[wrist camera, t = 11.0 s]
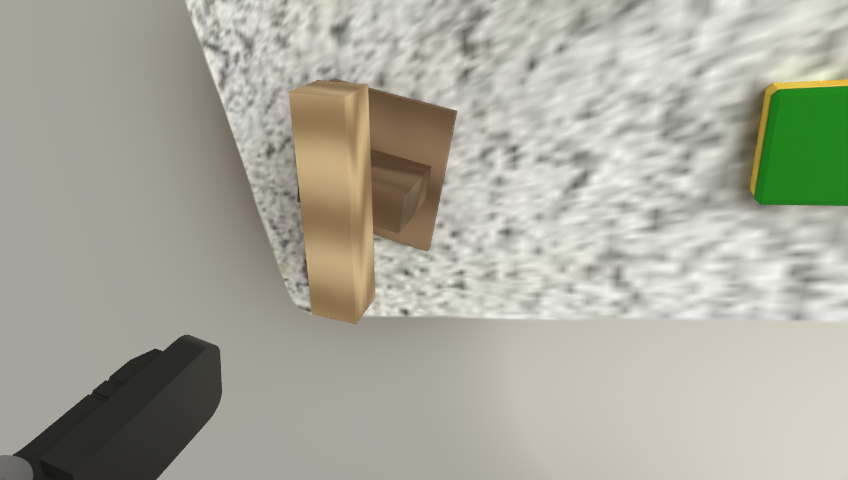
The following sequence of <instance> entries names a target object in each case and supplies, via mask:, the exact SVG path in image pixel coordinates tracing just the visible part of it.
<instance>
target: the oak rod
mask: <svg viewBox="0 0 848 480" xmlns="http://www.w3.org/2000/svg"><path fill="white" fill-rule="evenodd" d="M289 98H290V107H291V117H292V126H293V136H294V146H295V155H296V165H297V174H298V184H299V194H300V203H301V213H302V222H303V232H304V242H305V251H306V261H307V270H308V280H309V290H310V299H311V309H312V314H313V315H318V316H322V317H326V318H331V319H335V320H340V321H345V322H349V323H353V324H356V323H357V322H358V321H359V319H360V318H361V317H362V315H363V314H364V312H365V311H366V310H367V308H368V307H369V306H370V304H371V303H372V301H373V300H374V299H375V275H374V245H373V215H372V186H371V156H370V126H369V96H368V85H365V84H354V83H343V82H332V81H321V80H317V81H314V82H312V83H310V84H307V85H305V86H302V87H300V88H297V89H295V90H292V91H290V92H289Z"/></svg>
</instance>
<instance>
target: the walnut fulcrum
mask: <svg viewBox="0 0 848 480" xmlns="http://www.w3.org/2000/svg"><path fill="white" fill-rule="evenodd" d="M330 81H332V82H343V83H349V82H345V81H341V80H337V79H332V80H330ZM368 96H369V126H370V156H371V186H372V215H373V234H375V235H378V236H381V237H384V238H387V239H390V240H393V241H397V242H400V243H403V244H406V245H409V246H412V247H415V248H419V249H422V250H425V251H428V250H429V249H430V245H431V240H432V235H433V230H434V225H435V220H436V215H437V210H438V205H439V200H440V195H441V190H442V185H443V180H444V175H445V170H446V165H447V160H448V155H449V150H450V145H451V140H452V135H453V130H454V125H455V120H456V115H457V111H455V110H452V109H448V108H444V107H440V106H436V105H432V104H429V103H425V102H421V101H417V100H413V99H410V98H406V97H402V96H398V95H394V94H390V93H387V92H383V91H379V90H375V89H371V88H368ZM297 202H300V194H299V184H298V201H297Z"/></svg>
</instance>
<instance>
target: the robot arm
mask: <svg viewBox="0 0 848 480" xmlns="http://www.w3.org/2000/svg"><path fill="white" fill-rule="evenodd" d="M221 394H222V383H221V362H220V350H219V348H218V346H216V345H214V344H211V343H209V342H206V341H203V340H201V339H198V338H196V337H193V336H191V335H184V336H181V337H180V338H178V339H177V340H176V341H175V342H174V343H172V344H171V345H170V346H169V347H168V348H167V349H165V350H164V351H160V350H158V349H153V350H151V351H149V352H147V353H145V354H143V355H140V356H138V357H136V358H134V359H132V360H130V361H129V362H127V363H126V364H125V365H124V366H122V367H121V368H120V369H119V370H117V371H116V372H115V373H114V374H113V375H111V376H110V378H109V380H108V381H104V382H103V383H102V384H100V385H99V386H98V387H97V388H96V389H94V390H93V392H92V394H91V395H87V396H86V397H85V398H83V399H82V400H81V401H80V402H79V403H77V404H76V405H75V406H74V407H73V408H71V409H70V410H69V411H68V412H66V413H65V414H64V415H63V416H62V417H60V418H59V419H58V420H57V421H56V422H54V423H53V424H52V425H51V426H49V427H48V428H47V429H46V430H45V431H43V432H42V433H41V434H40V435H39V436H37V437H36V438H35V439H34V440H32V441H31V442H30V443H29V444H28V445H26V446H25V447H24V448H22V449H21V450H20V451H18V452H17V453H15V454H13V455H12V456H11V455H2V456H0V480H156V479H157V478H158V477H159V476H160V475H161V474H162V473H163V471H164V470H165V469H166V468H167V467H168V466H169V465H170V463H171V462H172V461H173V460H174V459H175V458H176V457H177V456H178V454H179V453H180V452H181V451H182V450H183V449H184V448H185V447H186V445H187V444H188V443H189V442H190V441H191V440H192V439H193V438H194V436H195V435H196V434H197V433H198V432H199V431H200V430H201V429H202V427H203V426H204V425H205V424H206V423H207V422H208V420H210V418H211V417H212V416H213V414H214V413H215V411H216V409H217V407H218V405H219V402H220V399H221Z"/></svg>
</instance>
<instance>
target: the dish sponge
mask: <svg viewBox="0 0 848 480" xmlns="http://www.w3.org/2000/svg"><path fill="white" fill-rule="evenodd" d="M749 189H750V190H751V192H752V194H753V196H754V198H755V200H756V201H757V202H759V203H760V204H764V205H836V206H848V80H829V81H809V82H790V83H773V84H771V85H770V86H769V87H768V88H767V89H765V95H764V101H763V107H762V113H761V120H760V126H759V132H758V138H757V144H756V151H755V157H754V163H753V169H752V176H751V182H750V188H749Z"/></svg>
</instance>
